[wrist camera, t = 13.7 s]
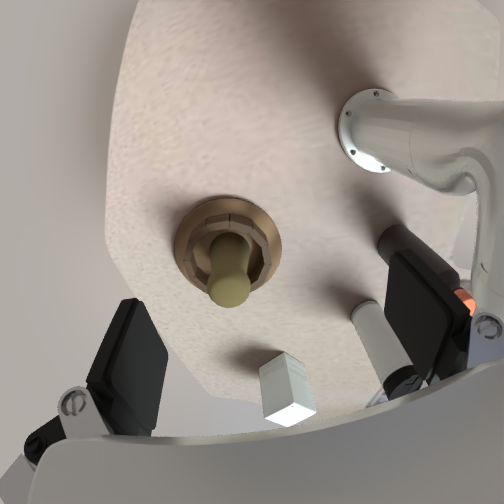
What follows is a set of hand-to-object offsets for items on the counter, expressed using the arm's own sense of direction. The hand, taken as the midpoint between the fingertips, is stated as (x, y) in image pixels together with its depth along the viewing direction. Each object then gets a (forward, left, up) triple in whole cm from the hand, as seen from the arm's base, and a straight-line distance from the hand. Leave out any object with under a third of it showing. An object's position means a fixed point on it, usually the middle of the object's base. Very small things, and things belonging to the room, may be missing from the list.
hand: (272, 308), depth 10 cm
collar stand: (-2, +13, -30) cm, 33 cm away
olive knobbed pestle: (-2, +13, -30) cm, 32 cm away
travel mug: (-31, +18, -31) cm, 47 cm away
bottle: (-28, +3, -31) cm, 41 cm away
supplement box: (-21, +36, -31) cm, 52 cm away
